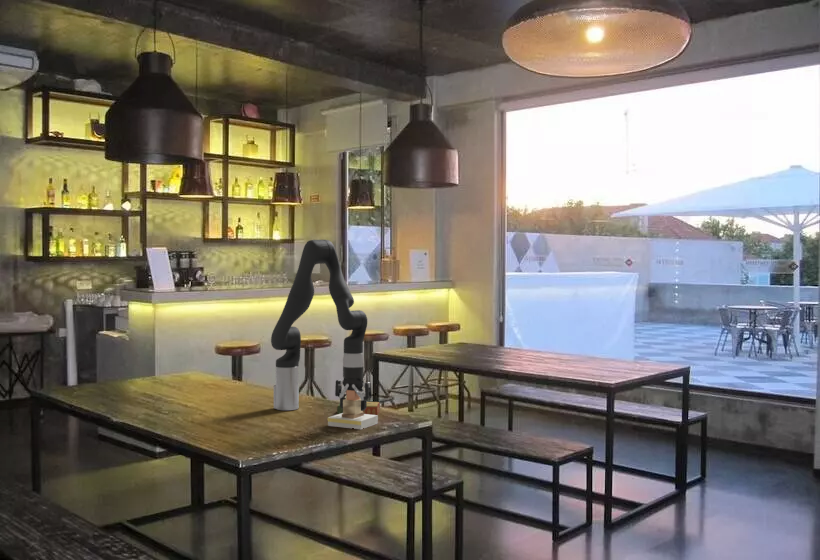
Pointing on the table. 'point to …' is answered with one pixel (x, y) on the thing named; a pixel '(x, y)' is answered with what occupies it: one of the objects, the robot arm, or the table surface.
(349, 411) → the wooden stepped block
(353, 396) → the block
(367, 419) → the dock
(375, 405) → the carton
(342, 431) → the table surface
